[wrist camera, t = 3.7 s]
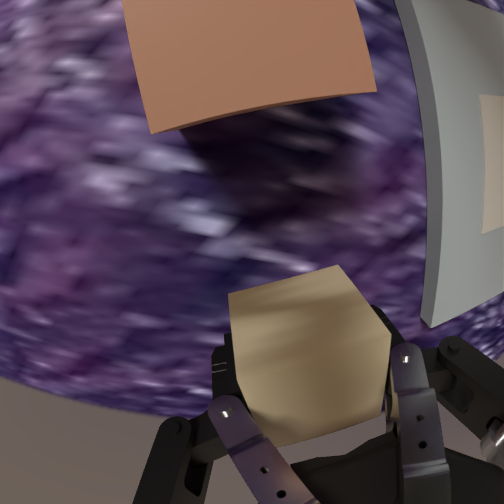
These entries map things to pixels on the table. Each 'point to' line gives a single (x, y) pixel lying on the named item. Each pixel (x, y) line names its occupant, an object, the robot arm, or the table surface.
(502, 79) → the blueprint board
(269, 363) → the maple block
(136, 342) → the table surface
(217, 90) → the terracotta block
